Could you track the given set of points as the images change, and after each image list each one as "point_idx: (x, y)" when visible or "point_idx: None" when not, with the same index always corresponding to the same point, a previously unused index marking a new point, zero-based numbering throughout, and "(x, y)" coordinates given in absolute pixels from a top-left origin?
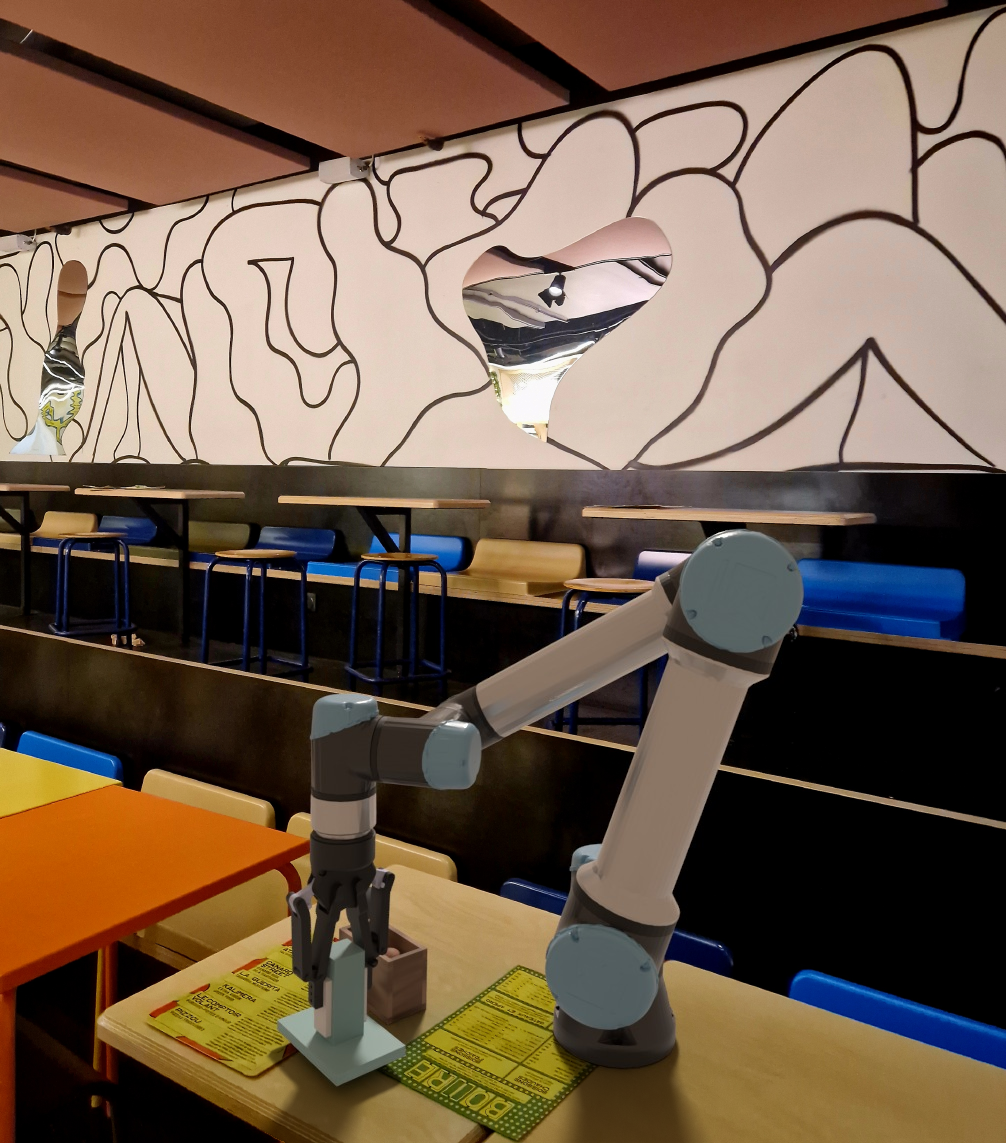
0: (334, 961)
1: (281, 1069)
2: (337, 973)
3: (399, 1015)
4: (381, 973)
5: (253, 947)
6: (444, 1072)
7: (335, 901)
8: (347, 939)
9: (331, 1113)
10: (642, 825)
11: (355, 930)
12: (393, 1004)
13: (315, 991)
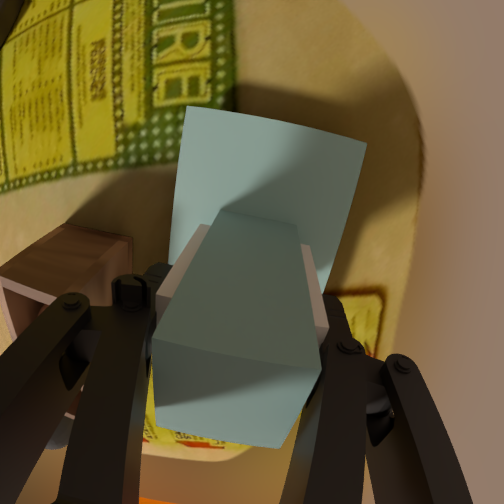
0: (321, 368)
1: (345, 278)
2: (301, 326)
3: (106, 235)
4: (91, 304)
5: (177, 455)
6: (159, 51)
7: None
8: (159, 422)
9: (381, 122)
10: None
11: (137, 439)
12: (106, 248)
13: (346, 328)
